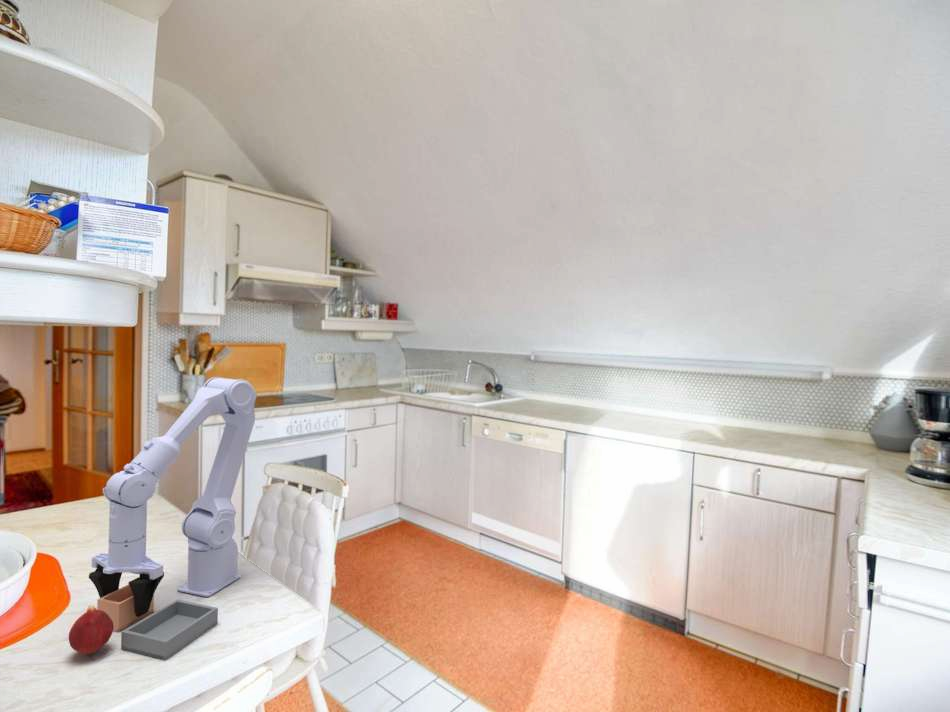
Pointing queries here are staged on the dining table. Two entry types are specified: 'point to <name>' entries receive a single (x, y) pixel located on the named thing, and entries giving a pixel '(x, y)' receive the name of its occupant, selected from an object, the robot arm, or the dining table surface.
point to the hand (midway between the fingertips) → (125, 610)
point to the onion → (91, 631)
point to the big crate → (169, 629)
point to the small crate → (121, 608)
